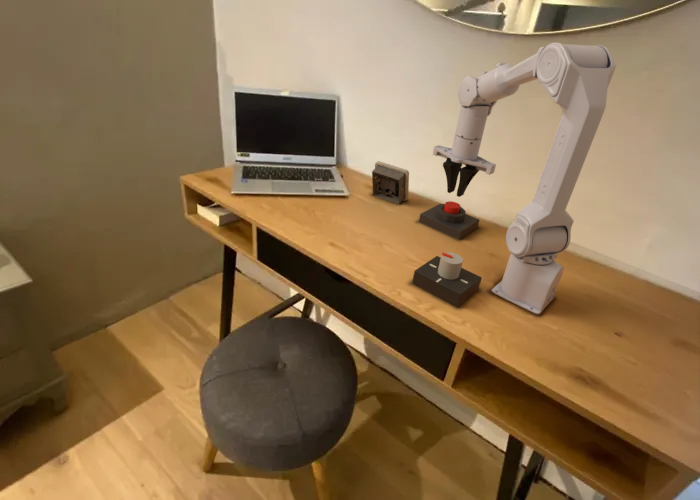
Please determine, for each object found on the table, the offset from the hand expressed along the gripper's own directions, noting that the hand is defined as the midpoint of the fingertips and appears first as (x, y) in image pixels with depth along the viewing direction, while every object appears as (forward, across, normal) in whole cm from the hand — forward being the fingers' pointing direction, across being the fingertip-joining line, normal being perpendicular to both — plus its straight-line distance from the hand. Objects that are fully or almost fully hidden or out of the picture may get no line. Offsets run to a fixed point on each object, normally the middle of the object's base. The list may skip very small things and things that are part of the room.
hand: (455, 193), depth 108 cm
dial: (+5, +13, -23) cm, 27 cm away
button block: (+8, 0, 0) cm, 8 cm away
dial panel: (+8, +13, -23) cm, 28 cm away
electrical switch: (+8, -18, 0) cm, 20 cm away
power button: (+5, 0, 0) cm, 5 cm away
